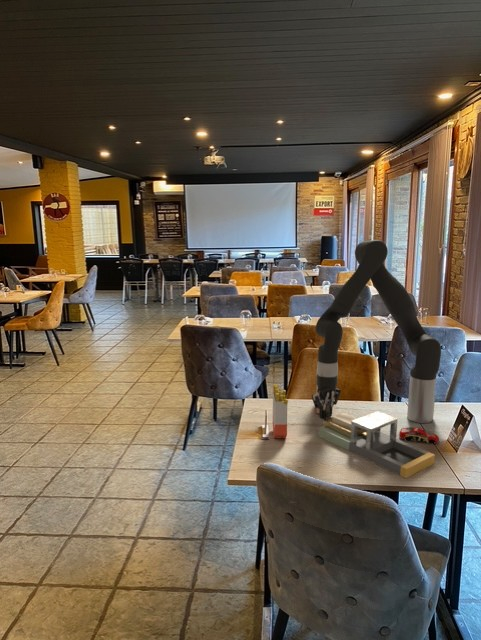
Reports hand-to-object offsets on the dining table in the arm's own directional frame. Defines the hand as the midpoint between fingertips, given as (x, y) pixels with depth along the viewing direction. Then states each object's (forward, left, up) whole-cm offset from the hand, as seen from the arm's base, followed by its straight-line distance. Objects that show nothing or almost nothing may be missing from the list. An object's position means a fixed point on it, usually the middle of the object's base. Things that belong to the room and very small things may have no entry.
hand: (325, 417), depth 178 cm
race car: (-19, +27, -4) cm, 33 cm away
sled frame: (0, +10, -1) cm, 10 cm away
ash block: (0, +11, -1) cm, 11 cm away
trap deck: (0, +22, -4) cm, 22 cm away
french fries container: (+18, -5, -4) cm, 19 cm away
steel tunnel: (0, +22, -1) cm, 22 cm away
